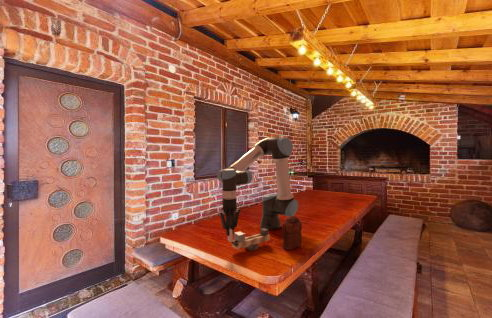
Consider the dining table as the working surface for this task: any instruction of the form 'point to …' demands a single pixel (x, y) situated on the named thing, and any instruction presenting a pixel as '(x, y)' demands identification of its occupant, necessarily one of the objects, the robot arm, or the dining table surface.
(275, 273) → the dining table surface
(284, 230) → the wooden figurine
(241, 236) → the block
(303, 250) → the dining table surface
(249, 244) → the beam
